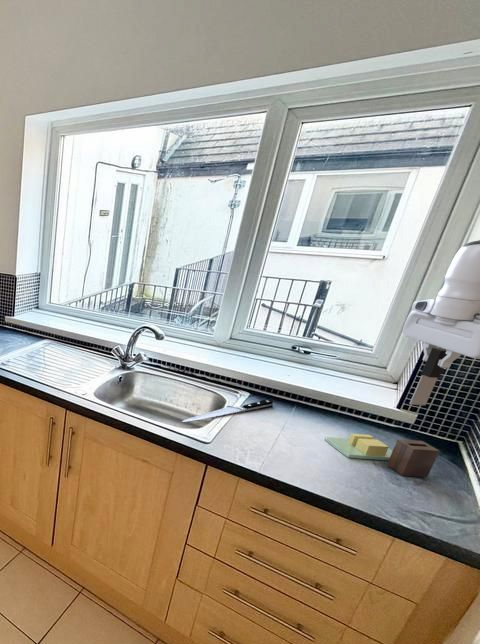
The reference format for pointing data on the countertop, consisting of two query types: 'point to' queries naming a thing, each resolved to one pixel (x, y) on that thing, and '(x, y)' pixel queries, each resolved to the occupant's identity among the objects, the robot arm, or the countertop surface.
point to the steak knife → (233, 410)
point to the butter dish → (353, 449)
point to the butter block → (371, 447)
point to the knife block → (412, 458)
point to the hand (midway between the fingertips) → (434, 364)
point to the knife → (428, 377)
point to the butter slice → (355, 438)
